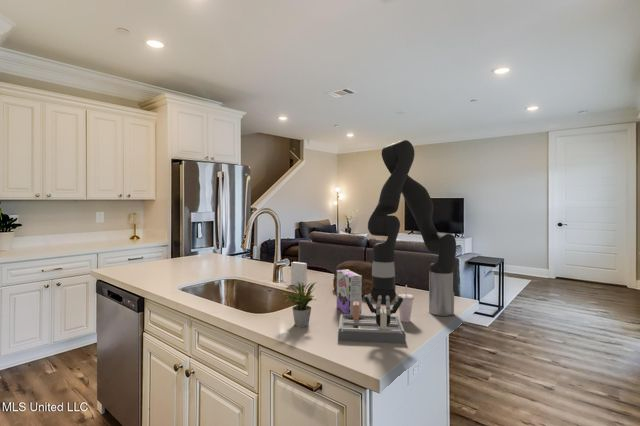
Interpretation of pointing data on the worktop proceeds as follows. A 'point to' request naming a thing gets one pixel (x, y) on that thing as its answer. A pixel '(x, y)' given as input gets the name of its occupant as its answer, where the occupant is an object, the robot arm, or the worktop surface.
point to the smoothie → (405, 306)
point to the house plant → (301, 304)
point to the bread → (360, 269)
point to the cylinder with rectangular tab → (298, 273)
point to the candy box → (348, 290)
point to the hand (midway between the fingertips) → (382, 324)
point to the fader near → (383, 319)
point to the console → (370, 329)
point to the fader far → (356, 310)
